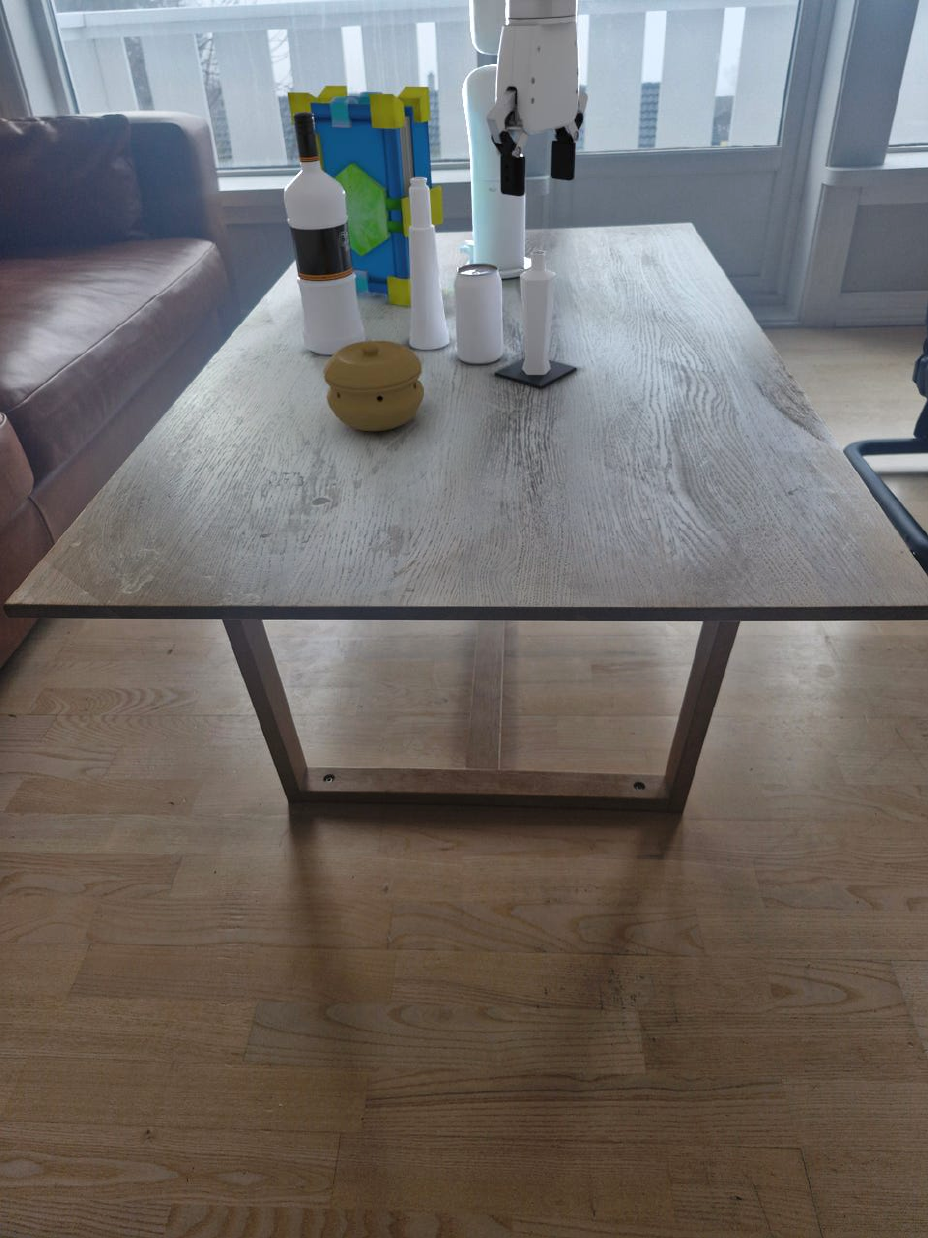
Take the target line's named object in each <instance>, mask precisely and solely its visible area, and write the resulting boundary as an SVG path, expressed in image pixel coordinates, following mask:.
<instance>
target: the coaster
mask: <svg viewBox="0 0 928 1238" xmlns="http://www.w3.org/2000/svg"><path fill="white" fill-rule="evenodd" d="M524 359H525V357H523V358H522V359H519V360H518V361H516V362H513V363H511V364H509V365H507V366H505V367H503V368H501V369H499V370H497V371H494V376H496V377H500V378H503V379H506V380H510V381H514V382H518V383H520V384H523V385H527V386H531V387H533V388H538V389H540V390H541V389H544V388H546V387H547V386H549V385H552V384H553V383H555V382H557V381H559V380H561V379H563V378H564V377H566V376H568V375H570V374H573V372H575V371H577V367H576V366H573V365H569V364H565V363H562V362H558V361H554V360H551V359H549V364H550V368H551V369H550V370H549V371H548V372H547V373H546V374H545V375H527V374H526V373H525V372H524V371H523V369H522V367H523V363H524Z"/></svg>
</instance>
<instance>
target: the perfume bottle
mask: <svg viewBox="0 0 928 1238" xmlns="http://www.w3.org/2000/svg"><path fill="white" fill-rule="evenodd" d="M547 252H548V251H545V250H539V249H537V250H532V251H529V255H530V260H531V269H529V270H527V271H525V272H524V273H522V274H520V276H519V279H520V280H519V281H520V282H519V283H520V298H521V299H520V300H521V317H522V333H523V348H524V358H525V359H524V358H523V359H524V363H523V367H522V369H523V371H524V372H525V373H526V374H527V375H545V374H546V373H547V372H548V371H549V370H550V369H551V368H550V364H549V360H550V359H549V352H550V343H551V342H550V341H551V331H552V322H553V321H552V320H553V310H554V299H555V289H556V288H555V287H556V280H557V279H556V278H557V274H556V273H555V272H554V271H551V270H550V269H548V268H546V263H547Z"/></svg>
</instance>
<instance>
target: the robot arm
mask: <svg viewBox="0 0 928 1238" xmlns="http://www.w3.org/2000/svg"><path fill="white" fill-rule="evenodd" d="M577 19H578V0H469V21H470V33H471V40H472V44H473V45H474V48H475V49H476V50H477V52H479V53H481V54H484V55H488V56H497V63H496V64H489V65H488V64H487V65H483V66H480V67H477V68H474V69H473V70H472V71H470V73H469V74H468V75H466V77H465V80H464V83H463V88H462V99H463V108H464V115H465V121H466V127H467V135H468V145H469V163H470V182H471V183H470V189H471V190H470V191H471V219H472V220H471V223H472V240H468V239H466V240H464V241H463V243H462V245H461V246H459V253H460V254H463V255H468V259H469V260H468V261H467V262H466V263H465V265H468V264H477V263H484V264H492V265H495V266H497V267H498V273H499V275H500V278H501V280H505V279H513V278H520V274H522V273H524V272H525V271H527V270H529V269H531V258H528V257H526V156H525V155H523V151H524V148H525V146H526V143H527V141H528V139H529V136H530V135H532V136H533V135H537V134H542V133H545V132H550V131H551V132H552V134H553V136H554V138H555V139H554V140H551V145H550V147H551V149H550V178H552V179H553V180H561V181H568V182H570V181H573V180H574V179H575V176H576V175H575V174H576V173H575V172H576V149H577V148H576V147H577V142H578V141H579V139H580V129H581V126H582V125H583V123H584V114H585V112H586V111H585V110H586V108H587V107H586V106H587V103H588V99H589V96H588V94H587V92H585V91H584V90H583V89H582V88H581V87H580V83H579V82H580V56H579V53H580V51H579V36H578V35H579V34H578V23H577V21H578V20H577ZM514 136H515V137H516V138H515V140H514V139H513V137H514Z"/></svg>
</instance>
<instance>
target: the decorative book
mask: <svg viewBox="0 0 928 1238" xmlns="http://www.w3.org/2000/svg"><path fill="white" fill-rule="evenodd" d="M286 94H287V99H288V105H289V106H288V107H289V113H290V119H291V125H292V126H294V118H293V115H294V114H296V113H299V112H310V113H312V114H313V121H314V126H315V134H316V141H317V148H318V156H319V162H320V167H321V170H322V171H324V172H325V173H327V174H328V175H330V176H331V177H332V178H334V179H335V180H337V181H338V182H339V183H340V184H341V185H342V187H343V189H344V191H345V194H346V199H345V201H346V212H347V216H348V229H349V237H350V245H351V253H352V261H353V270H354V271H353V272H354V273H355V275H356V278H355V285H356V293H365V294H370V295H372V294H381V295H387V296H388V304H390V305H397V306H404V307H410V308H411V285H410V259H409V227H410V226H411V212H410V199H409V187H410V186H411V183H410V179H411V178H414V177H425V178H427V182H426V185H427V186H428V187H429V192H430V208H431V224H432V225H434V226H435V227H437V226H439V225H441V224H444V209H443V207H444V205H443V189H442V185H438V186H435V187H433V181H432V179H433V178H432V165H431V164H432V163H431V162H432V161H431V145H430V132H429V131H430V130H429V129H430V128H429V121H431V120H432V119H431V117H432V116H431V103H430V100H431V99H430V87H429V86H405V87H404V88H403V89H402V90H401V91H400V93H399V94H398V95H394V94H393V93H383V92H382V91H361V92H360V93H359V94H358V95H348V86H347V85H325V86H324V88H323V89H322V90H321V91H320V93H319V94H318V95H317V96H315V95H313V94H311V93H310V92H299V91H298V92H296V91H289V92H288V91H287V93H286Z"/></svg>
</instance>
